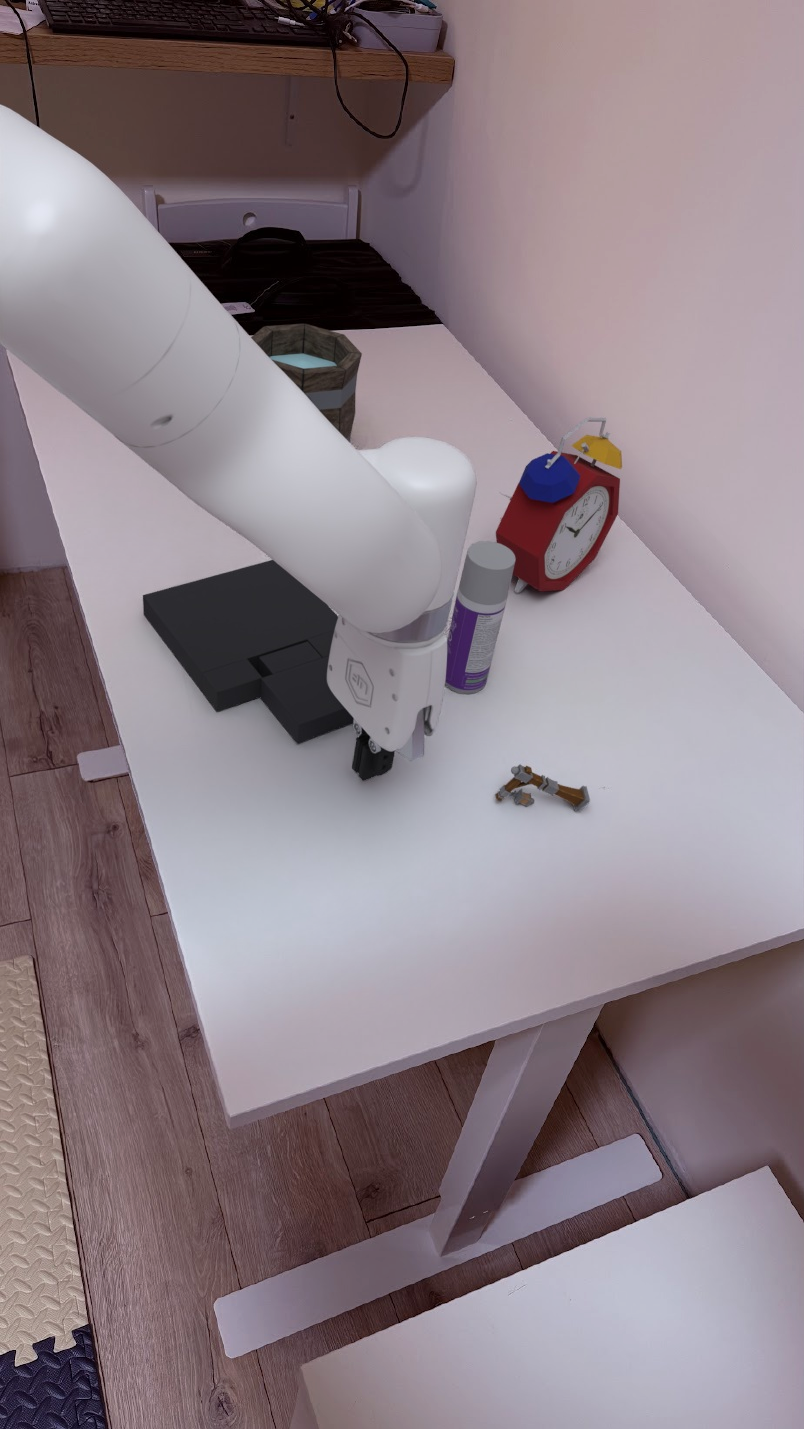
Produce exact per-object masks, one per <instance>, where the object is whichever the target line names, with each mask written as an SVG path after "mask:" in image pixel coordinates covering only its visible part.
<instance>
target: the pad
mask: <svg viewBox="0 0 804 1429" xmlns="http://www.w3.org/2000/svg"><path fill="white" fill-rule="evenodd" d="M328 661H329V656H326V657H323V658H322V657H321V656H320V655H319V654H318V653H317V651H316V650H315V649H314V648H313V647H312V646H311V645H310V643H309V642H305V643H301V644H298V645H295V646H292V647H289V648H286V649H283V650H280V651H277V652H274V653H270V654H267V655H264V656H261V657H259V672H258V673H259V674H260V675H261V677H262V678H261V690H260V697H259V699H260V700H261V701H262V702H263V703H264V704H265V706H266V707H267V708H268V709H269V711H270V712H271V713H272V714H273V716H274V717H275V718H276V719H277V721H279V723H280V724H281V726H282V727H283V728H284V729H285V731H286V732H287V733H288V734H289V736H290V737H291V739H292V740H294V742H295V744H297V745H299V744H301V743H305V742H307V741H309V740H312V739H315V738H318V737H320V736H323V735H325V734H328V733H331V732H334V731H336V730H338V729H341V728H342V729H343V728H344V727H347V726H350V725H353V717H352V715H351V714H350V713H349V712H348V711H347V710H346V709H345V707H344V706H343V705H342V704H341V703H340V702H339V700H338V699H337V698H336V697H335V695H334V694H333V693H332V691H331V690H330V688H329V686H328V683H327V668H328Z"/></svg>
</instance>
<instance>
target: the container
mask: <svg viewBox="0 0 804 1429" xmlns="http://www.w3.org/2000/svg"><path fill="white" fill-rule="evenodd" d="M515 560H516V559H515V555H514V553H513V552H512V551H511V550H510V549H509V548H507V547H506V546H504V545H502V544H499V543H497V541H489V540H481V541H477V542H474V543H472V544H470V545H469V546H468V548H467V551H466V555H465V560H464V563H463V567H462V570H461V576H460V580H459V585H458V588H457V592H456V597H455V600H454V606H453V612H452V616H451V621H450V624H449V625H450V626H449V629H448V630H449V631H448V636H447V667H446V679H445V687H446V688H447V689H449V690H450V691H453V692H455V693H459V694H462V695H471V694H476V693H479V692H480V691H482V690H483V689H484V688H485V687H486V684H487V681H488V677H489V673H490V670H491V669H490V668H491V665H492V661H493V656H494V652H495V649H496V645H497V641H498V638H499V633H500V629H501V625H502V622H503V618H504V613H505V610H506V605H507V601H508V597H509V592H510V587H511V582H512V578H513V575H514V574H513V569H514V565H515Z"/></svg>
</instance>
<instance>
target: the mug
mask: <svg viewBox="0 0 804 1429" xmlns="http://www.w3.org/2000/svg"><path fill="white" fill-rule="evenodd" d="M250 337H251V338H252V339H253V340H254V342H255V343H256V344H257V345H258V346H259V347H260V348H261V349H262V350H263V351H264V353H265V354H266V355H267V356H268V357H269V358H270V359H271V360H272V361H273V362H274V363H275V364H276V365H277V366H278V367H279V368H280V369H281V370H282V371H283V372H284V373H285V374H286V375H287V376H288V377H289V378H290V379H291V380H292V381H293V382H294V383H295V384H296V385H297V386H298V387H299V389H300V390H301V391H302V392H303V393H304V394H305V395H306V396H307V397H308V398H309V399H310V401H311V402H312V403H313V404H314V405H315V406H316V407H317V409H318V410H319V411H320V412H321V413H322V414H323V415H324V416H325V418H326V419H327V420H328V421H329V422H330V423H331V424H332V425H333V426H334V427H335V428H336V429H337V430H338V431H339V432H340V433H341V434H342V435H343V436H344V437H345V438H346V440H347V441H348V442H349V443H350V444H351V438H352V432H353V426H354V421H355V417H356V392H357V391H356V390H357V383H358V382H357V381H358V372H359V368H360V363H361V359H362V356H363V353H362V352H361V351H360V350H359V349H358V348H357V347H356V346H355V344H354V343H353V342H352V341H351V340H350V339H349V338H348V336H346V335H345V334H344V333H340V332H337V331H333V330H329V329H325V328H322V327H318V326H315V325H311V324H308V323H294V324H281V325H280V324H278V325H265V326H263V327H261V328H260V329H259V330H258V331H257V332H255V333H254V334H253V335H252V336H250Z"/></svg>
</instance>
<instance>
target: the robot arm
mask: <svg viewBox="0 0 804 1429" xmlns="http://www.w3.org/2000/svg"><path fill="white" fill-rule="evenodd" d="M251 337H252V336H250V335H249V333H248V332H247V331H246V330H245V329H244V328H243V327H242V326H241V325H240V324H239V322H238V321H237V319H235V318H234V316H232V314H231V313H230V312H229V311H228V310H227V309H225V307H224V306H223V305H222V303H220V301H219V300H218V299H217V298H216V297H215V296H214V295H213V293H212V292H211V291H210V290H209V289H208V287H207V286H206V285H205V283H203V281H201V279H200V278H199V277H198V276H197V274H195V272H194V271H193V270H192V269H191V268H190V267H189V265H188V264H187V263H186V262H185V261H184V260H183V259H182V257H181V256H180V255H179V254H178V253H177V251H176V250H175V249H174V248H173V247H172V246H171V245H170V243H169V242H168V241H167V240H166V239H165V238H164V237H163V235H162V234H161V233H160V232H159V231H158V230H157V229H156V227H155V226H154V225H153V224H152V223H151V222H150V221H149V219H148V218H147V217H146V216H145V215H144V214H143V213H142V212H141V210H140V209H139V208H138V207H137V206H136V205H135V204H134V202H132V200H131V199H130V197H128V195H126V194H125V193H124V192H123V191H122V190H121V188H120V187H119V186H118V185H116V184H115V182H113V181H112V180H111V179H110V178H109V176H107V175H106V174H105V173H104V172H103V171H101V169H99V168H98V167H97V166H96V165H95V164H93V163H92V162H91V161H89V160H88V159H87V158H85V157H84V156H82V154H79V153H78V152H77V151H75V150H74V149H73V148H70V147H69V146H68V145H67V144H65V143H64V142H61V141H60V140H59V139H57V138H55V137H54V136H52V135H51V134H49V133H48V132H46V131H45V130H44V129H43V128H41V127H39V126H37V125H36V124H34V123H33V122H31V121H30V120H28V119H27V118H25V117H24V116H22V115H21V114H19V113H18V112H17V111H14V110H13V109H12V108H9V107H7V106H6V105H3V104H0V345H1V346H2V347H4V348H5V349H6V350H7V351H8V352H10V353H11V354H12V355H13V356H14V357H16V358H17V359H18V360H19V361H21V362H22V363H23V364H24V365H26V366H27V368H29V369H30V370H32V371H33V372H34V373H35V374H37V375H38V376H39V377H40V378H41V379H43V380H44V381H45V382H46V383H48V384H49V386H51V387H53V388H54V389H55V390H56V391H57V392H59V394H61V395H63V396H64V397H66V398H67V399H68V400H69V401H71V402H72V403H73V404H74V405H75V406H77V407H78V408H79V409H81V411H83V412H84V413H85V414H87V415H88V416H89V417H90V418H91V419H93V420H94V421H95V422H96V423H98V424H99V425H100V426H101V427H102V428H104V429H105V430H106V431H107V432H108V433H110V434H111V435H112V436H113V437H114V438H116V439H117V440H118V441H119V442H121V444H123V445H124V446H125V447H127V448H128V449H129V450H130V451H132V453H133V454H135V455H136V456H137V457H138V458H140V460H142V461H143V462H144V463H146V464H147V465H148V466H149V467H151V468H152V469H153V470H155V471H156V472H157V473H158V474H160V476H162V477H163V478H164V479H166V480H167V481H168V482H169V483H170V484H171V485H173V486H174V487H175V488H176V489H177V490H179V492H181V493H182V494H183V495H184V496H185V497H187V498H188V499H189V500H190V501H192V502H193V503H194V504H196V505H197V506H199V507H200V508H201V509H202V510H204V511H205V512H207V513H208V514H209V515H211V516H213V517H214V518H216V519H217V520H218V521H219V522H221V523H223V524H224V525H225V526H227V527H228V528H230V529H231V530H233V531H235V532H236V533H237V534H238V535H240V536H241V537H243V538H244V539H245V540H247V541H248V542H249V543H251V544H252V545H253V546H255V547H256V548H257V549H258V550H260V551H261V552H262V553H263V554H265V555H266V556H267V557H268V558H270V560H274V561H275V562H276V563H277V564H279V565H280V566H281V567H282V568H283V569H285V570H286V571H287V572H288V573H289V574H291V575H292V576H293V577H294V578H295V579H297V580H298V581H299V582H300V583H302V584H303V585H304V586H305V587H306V588H308V589H309V590H310V591H311V592H312V593H314V594H315V595H316V596H317V597H318V598H320V599H321V600H322V601H323V602H325V603H326V604H327V605H328V606H329V607H330V608H331V609H332V610H333V612H334V613H336V614H338V615H337V616H338V620H337V623H336V627H335V631H334V635H333V639H332V644H331V649H330V655H329V661H328V668H327V683H328V686H329V688H330V690H331V691H332V693H333V694H334V695H335V697H336V698H337V699H338V700H339V702H340V703H341V704H342V705H343V706H344V707H345V709H346V710H347V711H348V712H349V713H350V714H351V715H352V717H353V723H352V728H353V731H354V733H355V735H357V736H358V737H356V738H355V746H354V749H353V750H354V751H353V758H352V763H351V764H352V765H351V769H352V770H353V772H354V773H356V774H358V778H359V779H360V780H361V781H362V782H366V781H368V780H370V779H372V778H375V777H380V776H383V775H385V774H387V773H388V772H389V771H391V769H392V768H393V764H394V759H395V753H396V751H397V753H398V754H399V755H400V756H402V757H403V758H404V759H405V760H407V761H408V762H413V761H415V760H418V759H420V758H422V757H424V756H425V736H426V737H431V736H433V735H434V733H435V731H436V729H437V726H438V722H439V719H440V716H441V711H442V707H443V701H444V700H443V699H444V695H445V687H446V686H445V679H446V667H447V640H448V636H447V634H446V630H447V626H448V621H449V618H450V612H451V609H452V604H453V599H454V594H455V588H456V585H457V584H456V583H457V579H458V575H459V571H460V566H461V563H462V562H461V561H462V558H463V553H464V547H465V543H466V539H467V533H468V528H469V525H470V520H471V516H472V512H473V506H474V502H475V496H476V490H477V485H478V481H477V472H476V469H475V467H474V466H475V465H473V462H472V461H471V459H470V458H469V457H468V456H467V455H466V454H465V453H464V452H463V451H462V450H460V449H459V448H458V447H456V446H454V445H453V444H450V443H448V442H446V441H443V440H440V439H436V438H431V437H425V436H412V435H411V436H402V437H398V438H395V439H391V440H389V441H387V442H385V443H384V444H382V445H381V446H379V447H377V448H367V449H366V448H365V449H356V447H355V446H354V445H353V444H352V443H351V442H350V443H349V442H348V441H347V440H346V438H345V437H344V436H343V435H342V434H341V433H340V432H339V431H338V430H337V429H336V428H335V427H334V426H333V425H332V424H331V423H330V422H329V421H328V420H327V419H326V418H325V416H324V415H323V414H322V413H321V412H320V411H319V410H318V409H317V407H316V406H315V405H314V404H313V403H312V402H311V401H310V399H309V398H308V397H307V396H306V395H305V394H304V393H303V392H302V391H301V390H300V389H299V387H298V386H297V385H296V384H295V383H294V382H293V381H292V380H291V379H290V378H289V377H288V376H287V375H286V374H285V373H284V372H283V371H282V370H281V369H280V368H279V367H278V366H277V365H276V364H275V363H274V362H273V361H272V360H271V359H270V358H269V357H268V356H267V355H266V354H265V353H264V351H263V350H262V349H261V348H260V347H259V346H258V345H257V344H256V343H255V342H254V340H253V339H252V338H251Z"/></svg>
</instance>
